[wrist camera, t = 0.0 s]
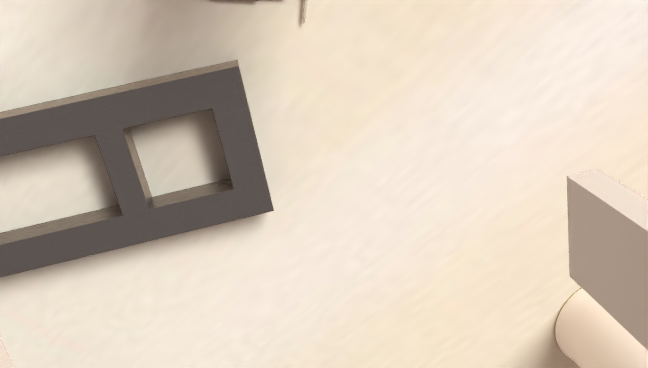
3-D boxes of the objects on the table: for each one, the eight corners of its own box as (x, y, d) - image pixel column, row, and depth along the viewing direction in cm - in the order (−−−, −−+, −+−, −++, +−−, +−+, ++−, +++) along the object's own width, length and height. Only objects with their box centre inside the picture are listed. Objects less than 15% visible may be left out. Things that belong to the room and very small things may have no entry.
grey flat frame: (-118, 138, 38) (-134, 148, 36) (237, 59, 40) (238, 66, 38) (-48, 276, 42) (-60, 291, 40) (270, 198, 44) (273, 210, 42)
